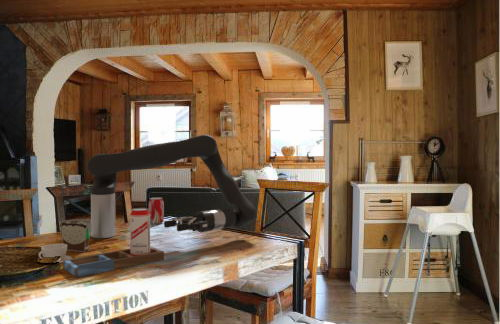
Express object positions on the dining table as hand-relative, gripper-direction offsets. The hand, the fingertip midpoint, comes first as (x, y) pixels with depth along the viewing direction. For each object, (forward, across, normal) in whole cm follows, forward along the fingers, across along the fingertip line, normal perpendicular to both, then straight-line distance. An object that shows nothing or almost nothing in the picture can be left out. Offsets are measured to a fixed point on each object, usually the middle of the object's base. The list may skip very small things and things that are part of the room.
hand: (170, 226), depth 134 cm
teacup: (+32, -16, +9) cm, 37 cm away
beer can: (+11, 0, +9) cm, 14 cm away
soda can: (-23, -53, +9) cm, 58 cm away
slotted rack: (+19, 0, +9) cm, 21 cm away
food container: (+21, -26, +9) cm, 35 cm away
